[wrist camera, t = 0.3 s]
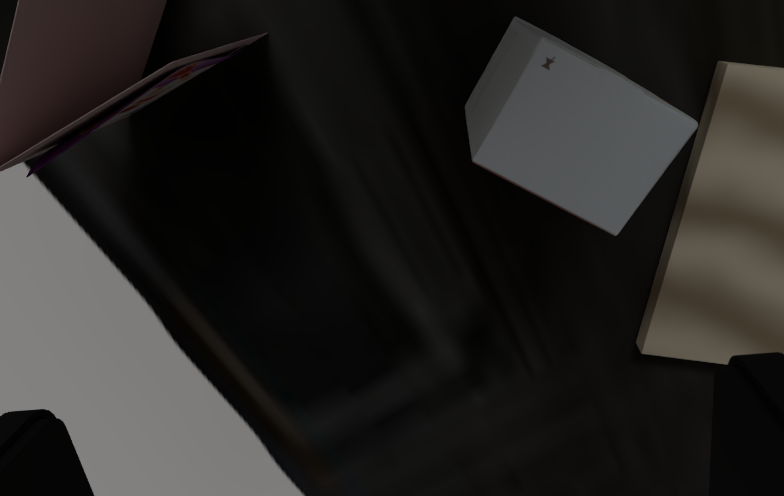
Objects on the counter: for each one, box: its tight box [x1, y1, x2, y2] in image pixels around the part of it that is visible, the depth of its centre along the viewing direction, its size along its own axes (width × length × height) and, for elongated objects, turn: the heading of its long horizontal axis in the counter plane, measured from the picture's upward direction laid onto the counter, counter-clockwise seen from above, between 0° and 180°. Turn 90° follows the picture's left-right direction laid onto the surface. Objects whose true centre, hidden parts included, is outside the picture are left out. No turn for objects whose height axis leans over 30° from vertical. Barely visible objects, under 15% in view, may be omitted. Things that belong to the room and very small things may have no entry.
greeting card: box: [0, 0, 268, 177], centre depth 34 cm, size 11×7×15 cm, turn 118°
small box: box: [465, 17, 698, 236], centre depth 34 cm, size 8×6×13 cm
